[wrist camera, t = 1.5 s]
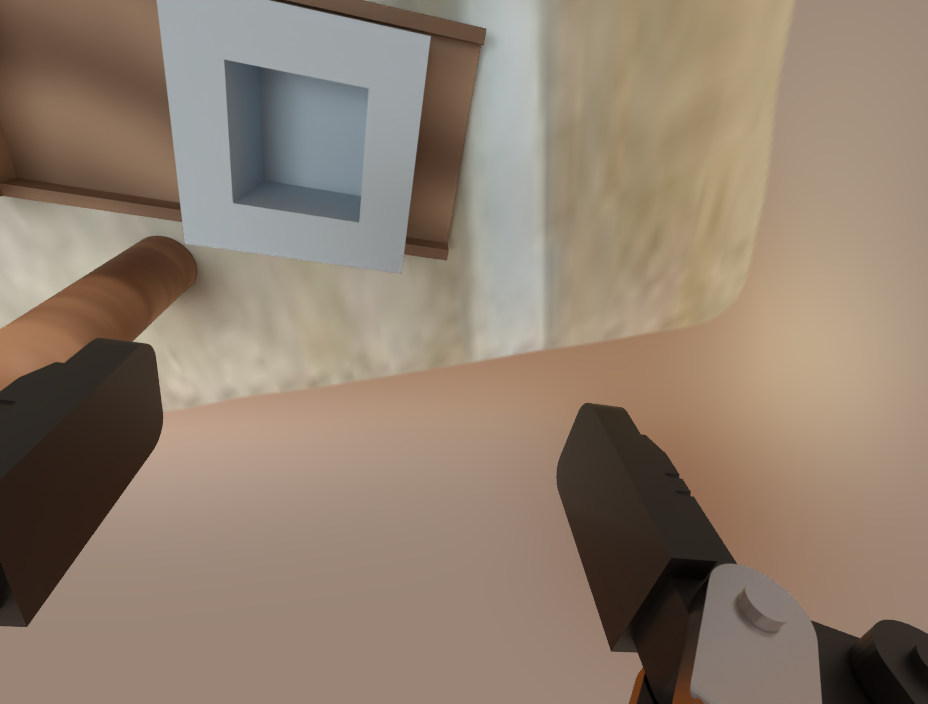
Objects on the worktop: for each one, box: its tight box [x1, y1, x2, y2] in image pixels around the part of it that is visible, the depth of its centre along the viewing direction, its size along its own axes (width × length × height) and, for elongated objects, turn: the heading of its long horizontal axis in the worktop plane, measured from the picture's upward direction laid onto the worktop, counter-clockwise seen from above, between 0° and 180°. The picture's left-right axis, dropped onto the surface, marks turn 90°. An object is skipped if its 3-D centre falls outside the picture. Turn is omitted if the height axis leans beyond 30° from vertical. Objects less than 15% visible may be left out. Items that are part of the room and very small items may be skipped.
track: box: [0, 0, 486, 260], centre depth 21 cm, size 11×24×7 cm, turn 80°
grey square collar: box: [157, 0, 431, 274], centre depth 21 cm, size 9×9×6 cm
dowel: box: [0, 236, 197, 391], centre depth 23 cm, size 3×3×12 cm
